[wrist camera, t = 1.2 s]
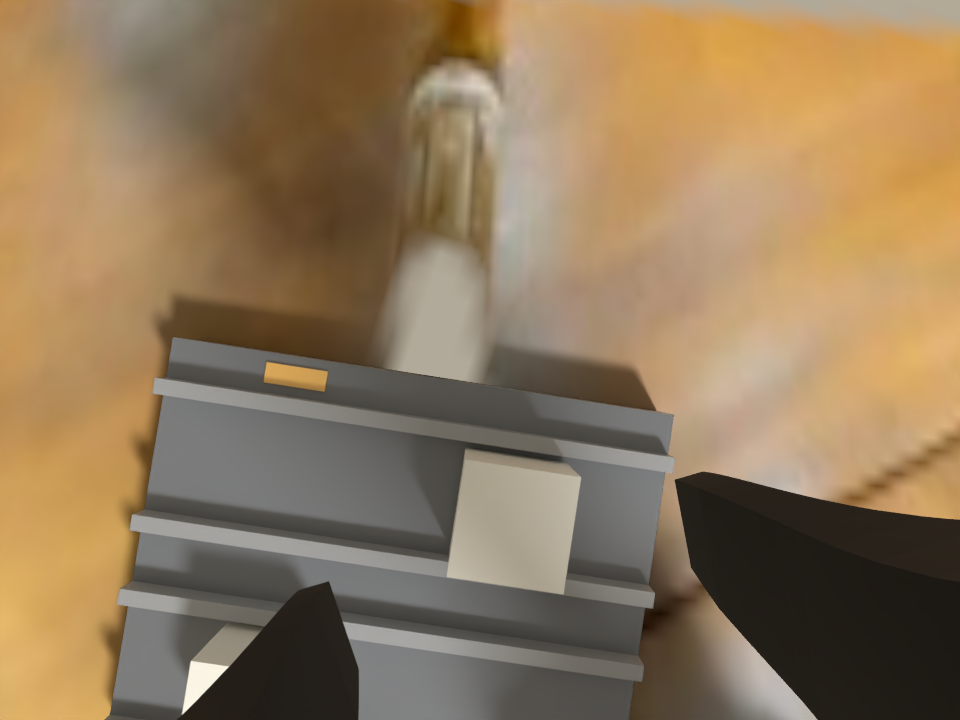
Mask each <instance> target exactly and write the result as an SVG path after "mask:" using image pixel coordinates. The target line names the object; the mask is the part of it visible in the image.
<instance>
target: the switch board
mask: <svg viewBox="0 0 960 720" xmlns="http://www.w3.org/2000/svg"><path fill="white" fill-rule="evenodd" d="M152 393H153V394H159V395H163V400H162V406H161V412H160V418H159V424H158V430H157V436H156V442H155V448H154V454H153V460H152V466H151V472H150V478H149V484H148V490H147V496H146V502H145V508H144V510H141V511H139V512H137V513H134V514H132V518H131V524H130V531H137V532H140V538H139V544H138V550H137V556H136V562H135V568H134V574H133V580H132V581H131V582H130V583H128V584H126V585H125V586H123V587H122V588H120V590H119V596H118V602H117V605H123V606H128V610H127V616H126V622H125V628H124V634H123V640H122V646H121V652H120V658H119V664H118V670H117V676H116V682H115V688H114V694H113V700H112V706H111V712H110V715H109V716H108V717H107V718H106V719H105V720H177V719H178V718H179V717H180V716H181V715H182V711H183V705H184V699H185V693H186V687H187V681H188V675H189V669H190V663H191V660H192V659H193V658H194V657H195V656H196V655H197V654H198V653H199V652H200V651H201V650H202V649H203V648H204V647H205V646H206V645H207V643H208V642H209V641H210V640H211V639H212V638H213V637H214V636H215V635H216V634H217V633H218V632H219V631H220V630H221V629H222V628H223V627H224V626H225V625H226V624H227V623H228V622H229V621H231V622H237V623H244V624H251V625H258V626H266V625H267V623H268V622H269V621H270V620H271V619H272V618H273V617H274V615H275V614H276V613H277V612H278V611H279V610H280V609H281V607H282V606H283V605H284V604H285V603H286V602H287V601H288V600H289V599H290V598H291V597H292V596H293V595H294V594H295V593H296V592H297V591H298V590H300V589H304V588H307V587H311V586H314V585H318V584H321V583H324V582H328V581H329V582H330V585H331V588H332V591H333V594H334V597H335V600H336V603H337V606H338V609H339V612H340V615H341V618H342V621H343V624H344V627H345V630H346V633H347V636H348V639H349V642H350V644H351V647H352V650H353V653H354V656H355V659H356V662H357V665H358V668H359V718H358V720H629V714H630V707H631V700H632V693H633V687H634V681H638V682H642V679H643V672H644V665H643V663H642V661H641V660H640V658H639V656H638V653H639V646H640V640H641V633H642V626H643V619H644V613H645V608H652V609H653V605H654V598H655V592H654V591H653V590H652V589H651V587H650V586H649V579H650V572H651V566H652V559H653V552H654V545H655V539H656V532H657V525H658V518H659V512H660V505H661V498H662V491H663V485H664V478H665V472H667V473H673V470H674V463H675V458H674V457H672V456H670V455H668V451H669V444H670V438H671V431H672V424H673V417H674V415H672V414H667V413H663V412H658V411H652V410H646V409H640V408H633V407H627V406H620V405H614V404H607V403H601V402H595V401H588V400H582V399H575V398H569V397H562V396H556V395H549V394H543V393H537V392H530V391H524V390H517V389H511V388H504V387H498V386H492V385H485V384H479V383H472V382H466V381H459V380H452V379H447V378H440V377H433V376H427V375H421V374H414V373H408V372H401V371H395V370H389V369H382V368H376V367H369V366H363V365H356V364H350V363H344V362H337V361H331V360H324V359H318V358H311V357H305V356H298V355H292V354H286V353H279V352H273V351H266V350H260V349H253V348H247V347H241V346H234V345H228V344H221V343H215V342H208V341H202V340H195V339H186V338H177V337H173V340H172V346H171V352H170V358H169V364H168V370H167V376H166V377H163V378H155V381H154V386H153V392H152ZM465 447H466V448H473V449H479V450H486V451H492V452H499V453H505V454H512V455H519V456H525V457H532V458H538V459H545V460H551V461H558V462H564V463H567V464H568V465H569V466H570V467H571V468H572V469H573V470H574V471H575V472H576V473H577V474H578V475H579V476H581V483H580V489H579V496H578V502H577V509H576V516H575V522H574V529H573V535H572V542H571V549H570V555H569V562H568V568H567V575H566V582H565V588H564V595H563V594H557V593H550V592H543V591H537V590H530V589H523V588H516V587H510V586H503V585H496V584H490V583H483V582H476V581H470V580H463V579H456V578H450V577H447V569H448V560H449V550H450V544H451V537H452V531H453V524H454V518H455V511H456V505H457V499H458V492H459V486H460V479H461V473H462V467H463V460H464V454H465Z"/></svg>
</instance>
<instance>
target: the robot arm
mask: <svg viewBox="0 0 960 720" xmlns="http://www.w3.org/2000/svg"><path fill="white" fill-rule="evenodd" d="M675 484H676V489H677V495H678V500H679V505H680V510H681V516H682V521H683V526H684V532H685V537H686V542H687V548H688V553H689V558H690V564H691V568H692V570H693V571H694V573H695V574H696V576H697V577H698V579H699V580H700V582H701V583H702V585H703V586H704V588H705V589H706V591H707V592H708V593H709V595H710V596H711V598H712V599H713V601H714V602H715V603H716V605H717V606H718V608H719V609H720V610H721V611H722V612H723V614H724V615H725V616H726V617H727V618H728V619H729V620H730V622H731V623H732V624H733V625H734V626H735V627H736V628H737V629H738V630H739V632H740V633H741V634H742V635H743V636H744V637H745V638H746V639H747V641H748V642H749V643H750V644H751V645H752V646H753V647H754V648H755V649H756V651H757V652H758V653H759V654H760V655H761V656H762V657H763V658H764V659H765V660H766V662H767V663H768V664H769V665H770V666H771V667H772V668H773V669H774V670H775V671H776V673H777V674H778V675H779V676H780V677H781V678H782V679H783V680H784V681H785V683H786V684H787V685H788V686H789V687H790V688H791V689H792V690H793V691H794V692H795V694H796V695H797V696H798V697H799V698H800V699H801V700H802V701H803V703H804V704H805V705H806V706H807V707H808V709H809V710H810V711H811V712H812V713H813V714H814V716H815V717H816V718H817V719H818V720H960V520H954V519H942V518H932V517H923V516H915V515H908V514H900V513H893V512H886V511H878V510H872V509H866V508H860V507H855V506H850V505H845V504H840V503H835V502H830V501H825V500H821V499H816V498H812V497H807V496H803V495H799V494H795V493H791V492H787V491H783V490H779V489H775V488H771V487H767V486H763V485H759V484H756V483H752V482H748V481H744V480H740V479H736V478H732V477H728V476H724V475H720V474H715V473H709V472H700V473H696V474H693V475H690V476H686V477H683V478H679V479H676V480H675ZM358 718H359V668H358V665H357V662H356V659H355V656H354V653H353V650H352V647H351V644H350V642H349V639H348V636H347V633H346V630H345V627H344V624H343V621H342V618H341V615H340V612H339V609H338V606H337V603H336V600H335V597H334V594H333V591H332V588H331V585H330V582H329V581H328V582H324V583H321V584H318V585H314V586H311V587H307V588H304V589H300V590H298V591H297V592H296V593H295V594H294V595H293V596H292V597H291V598H290V599H289V600H288V601H287V602H286V603H285V604H284V605H283V606H282V607H281V609H280V610H279V611H278V612H277V613H276V614H275V615H274V617H273V618H272V619H271V620H270V621H269V622H268V623H267V625H266V626H265V627H264V628H263V629H262V630H261V631H260V633H259V634H258V635H257V636H256V637H255V638H254V639H253V640H252V642H251V643H250V644H249V645H248V646H247V647H246V648H245V650H244V651H243V652H242V653H241V654H240V655H239V656H238V657H237V659H236V660H235V661H234V662H233V663H232V664H231V665H230V666H229V667H228V668H227V669H226V670H225V671H224V672H223V673H222V674H221V675H220V677H219V678H218V679H217V680H216V681H215V682H214V683H213V684H212V685H211V686H210V687H209V688H208V689H207V690H206V691H205V692H204V693H203V694H202V695H201V696H200V697H199V699H198V700H197V701H196V702H195V703H194V704H193V705H192V706H191V707H190V708H189V709H188V710H187V711H186V712H185V713H184V714H182V715H181V716H180V717H179V718H178V719H177V720H358Z"/></svg>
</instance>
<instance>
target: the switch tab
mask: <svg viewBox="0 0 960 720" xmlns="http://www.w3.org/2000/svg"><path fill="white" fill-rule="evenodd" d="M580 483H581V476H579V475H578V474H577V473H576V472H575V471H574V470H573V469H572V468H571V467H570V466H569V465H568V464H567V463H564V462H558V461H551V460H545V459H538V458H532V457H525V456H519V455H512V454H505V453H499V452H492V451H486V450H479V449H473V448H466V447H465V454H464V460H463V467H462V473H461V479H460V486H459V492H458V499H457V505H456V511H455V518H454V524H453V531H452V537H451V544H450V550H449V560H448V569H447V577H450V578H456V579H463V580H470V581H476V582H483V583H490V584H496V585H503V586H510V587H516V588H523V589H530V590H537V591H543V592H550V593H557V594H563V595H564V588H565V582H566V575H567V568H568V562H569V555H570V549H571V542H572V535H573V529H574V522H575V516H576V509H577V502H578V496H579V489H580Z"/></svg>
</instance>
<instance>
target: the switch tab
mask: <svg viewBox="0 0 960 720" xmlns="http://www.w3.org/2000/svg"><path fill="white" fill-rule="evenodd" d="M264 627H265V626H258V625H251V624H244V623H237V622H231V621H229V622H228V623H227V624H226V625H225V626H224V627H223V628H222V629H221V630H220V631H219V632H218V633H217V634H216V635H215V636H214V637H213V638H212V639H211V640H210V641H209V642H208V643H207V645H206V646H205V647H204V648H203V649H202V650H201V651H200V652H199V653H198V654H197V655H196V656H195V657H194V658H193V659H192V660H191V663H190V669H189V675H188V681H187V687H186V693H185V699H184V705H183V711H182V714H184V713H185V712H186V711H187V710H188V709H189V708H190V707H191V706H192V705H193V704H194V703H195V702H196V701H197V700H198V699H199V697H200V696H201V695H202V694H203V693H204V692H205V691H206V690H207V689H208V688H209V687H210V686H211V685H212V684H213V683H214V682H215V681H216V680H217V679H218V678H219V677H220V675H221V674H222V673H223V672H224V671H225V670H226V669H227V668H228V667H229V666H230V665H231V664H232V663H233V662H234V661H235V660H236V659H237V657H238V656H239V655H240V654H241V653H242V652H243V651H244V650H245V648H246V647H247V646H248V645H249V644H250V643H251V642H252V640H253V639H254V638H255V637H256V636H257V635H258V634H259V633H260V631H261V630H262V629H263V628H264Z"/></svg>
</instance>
